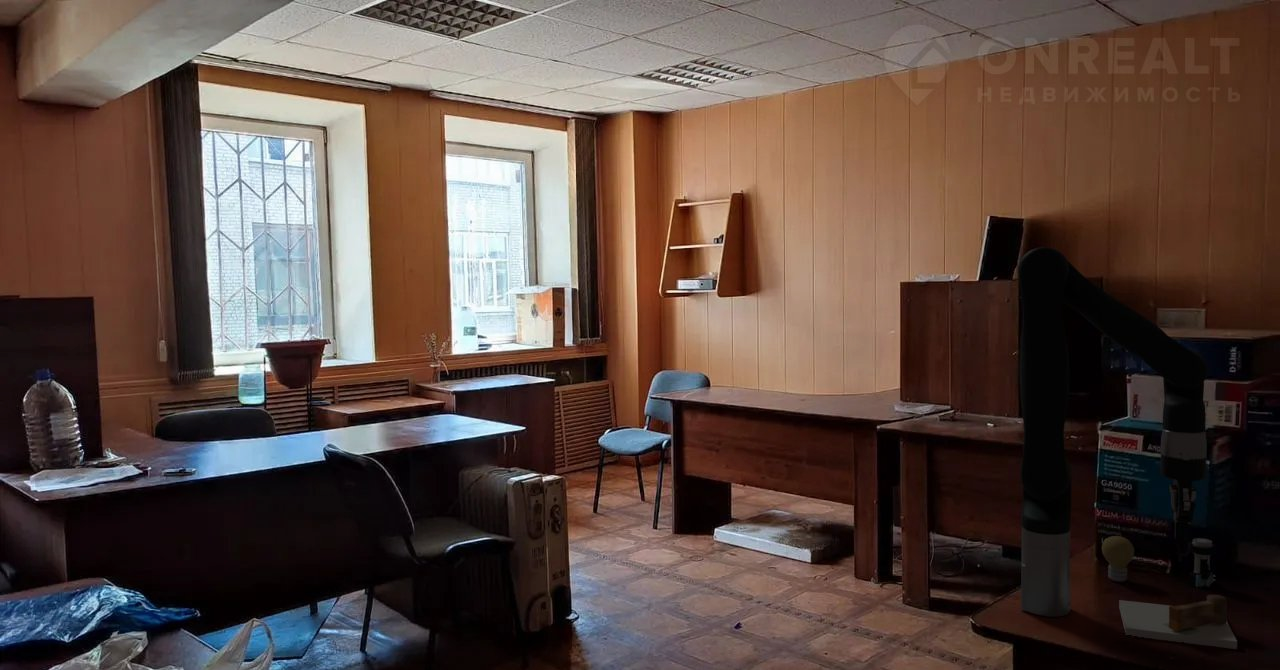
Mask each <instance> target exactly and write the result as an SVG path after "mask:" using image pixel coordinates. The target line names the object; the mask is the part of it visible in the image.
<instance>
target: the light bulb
mask: <svg viewBox="0 0 1280 670" xmlns="http://www.w3.org/2000/svg"><path fill="white" fill-rule="evenodd" d="M1101 551H1102V552H1101V553H1102V555H1103V557H1104V559H1105V560H1106V561H1107V562H1108V563H1109V565H1108V571H1107V572H1108V574H1107V575H1108V576H1107V577H1108V578H1109V579H1110V580H1111V581H1113V582H1118V583H1122V582H1126V581H1127V579H1128V576H1127V575H1128V567H1127V566H1128V564H1130V562H1132V560H1133V558H1134V557H1135V556H1134V555H1135V548H1134V545H1133V543H1132V542H1131V541H1130V540H1129V539H1128V538H1125V537H1123V536H1119V535H1111V536H1109V537H1107V538H1105V539H1104V540H1103V542H1102V544H1101Z"/></svg>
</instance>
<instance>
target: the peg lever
mask: <svg viewBox="0 0 1280 670" xmlns="http://www.w3.org/2000/svg"><path fill="white" fill-rule="evenodd" d="M1227 601H1228V600H1227V598H1226V597H1225V596H1223V595H1219V594H1207V595H1206V600H1202V601H1198V602H1192V603H1188V604H1180V605H1169V628H1170V629H1173V630H1175V631H1182V629H1187V628H1192V627H1198V626H1203V625H1208V624H1213V623H1215V624H1225V623H1226V621H1227V609H1228V608H1227V607H1228V604H1227V603H1228V602H1227Z"/></svg>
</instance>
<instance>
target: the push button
mask: <svg viewBox="0 0 1280 670" xmlns="http://www.w3.org/2000/svg"><path fill="white" fill-rule="evenodd" d="M1187 546H1188V547H1189V548H1188V550H1189V552H1191V553H1192V554H1194V567H1193V571H1192V572H1189V573H1188V584H1189V585H1191V586H1192V585H1193V587H1195V586H1196V588H1198V586H1199V587H1200V588H1202V587H1201V586H1204V587H1207V586H1208V587H1211V585H1210V584H1212V583H1213V584H1214V582H1215V581H1216V579H1214V578H1215V577H1216V575H1215V574H1214V573H1213V572H1211V569H1210V566H1211V565H1210V564H1211V563H1210V562H1211V560H1210V559H1211V556H1214V555H1215V554H1216V551H1217V548H1218V546H1217V545H1215V544H1214V543H1213V541H1212V540H1210V539H1207V538H1204V537H1203V538H1201V537H1197V538H1192V541H1188V542H1187ZM1213 584H1212V585H1213ZM1205 585H1206V586H1205Z"/></svg>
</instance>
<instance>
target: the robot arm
mask: <svg viewBox="0 0 1280 670" xmlns="http://www.w3.org/2000/svg"><path fill="white" fill-rule="evenodd" d="M1017 277H1018V283H1019V289H1020V297H1021V298H1020V299H1021V307H1022V327H1021V335H1020V345H1019V347H1020V348H1019V390H1020V393H1019V394H1020V406H1021V414H1022V421H1023V422H1022V423H1023V446H1022V459H1021V467H1020V471H1019V479H1020V482H1021V485H1022V508H1021V514H1020V516H1021V520H1020V521H1021V523H1020V525H1021V560H1020V561H1021V563H1020V564H1021V565H1020V574H1021V575H1020V580H1021V581H1020V582H1021V583H1020V586H1021V587H1020V589H1021V591H1020V594H1021V596H1020V599H1021V600H1020V607H1021V608H1020V610H1021V611H1023V612H1028V613H1030V614H1033V615H1037V616H1041V617H1052V618H1053V617H1054V618H1057V617H1064V616H1067V615H1068V614H1070V612H1071V517H1072V468H1071V466H1070V463H1069V461H1068V460H1067V458H1066V449H1065V437H1064V436H1065V423H1066V418H1067V411H1068V406H1069V405H1068V404H1069V397H1070V356H1069V347H1068V341H1067V336H1066V330H1065V325H1064V324H1065V323H1064V316H1063V311H1064V310H1063V309H1064V305H1067V306H1068V307H1070V308H1071V309H1073V310H1074V311H1075V312H1077V313H1078V314H1080V315H1081V316H1082V317H1083V318H1085V319H1086V320H1087V321H1088V322H1089V323H1090V324H1091V325H1093V326H1094V327H1095V328H1096V329H1097V330H1098V331H1100V333H1102V334H1103V335H1104V336H1106V337H1107V338H1108V339H1110V341H1113V342H1114V343H1115V344H1117V345H1118V346H1119V347H1121V348H1122V349H1124V350H1125V351H1127V352H1128V353H1129V354H1130V355H1132V356H1134V357H1136V358H1138V359H1139V360H1141V361H1143V363H1144V364H1146V365H1147V366H1148V367H1150V368H1151V369H1152V371H1154V372H1156V373H1157V374H1158V375H1159V376H1160V377H1162V378H1163V379H1162V380H1163V383H1162V384H1163V393H1164V396H1163V397H1164V399H1163V400H1164V402H1163V409H1162V430H1161V438H1160V466H1159V467H1160V469H1159V471H1160V472H1159V473H1160V475H1161V476H1163V478H1166V479H1169V480H1173V484H1169V493H1170V506H1171V508H1172V510H1171V512H1172V515H1173V517H1172V518H1173V520H1174V539H1175V541H1176V542H1181V543H1189V542H1190V525H1191V524H1192V522H1193V518H1194V513H1195V512H1194V511H1195V507H1196V503H1195V499H1196V497H1197V489H1196V488H1195V487H1194V485H1193V482H1195V481H1196V482H1200V481H1203V480H1205V479H1206V477H1207V455H1208V454H1207V449H1208V448H1207V444H1208V442H1207V437H1206V436H1207V435H1206V420H1207V419H1206V418H1207V417H1206V406H1205V403H1204V395H1205V394H1204V393H1205V392H1204V391H1205V381H1206V378H1207V376H1208V374H1209V367H1208V364H1207V362H1206V361H1205V359H1204V358H1203V357H1202V355H1200V354H1199V353H1198V352H1197V351H1195V350H1193V349H1191V348H1190V349H1189V348H1188V347H1186V346H1184V345H1183V344H1181V342H1178V340H1175V339H1173V337H1170V336H1169V335H1168V334H1167V333H1166V332H1165V331H1164V330H1163V329H1161V327H1159V326H1158V325H1157V324H1155V323H1154V322H1152V321H1150V320H1149V319H1148V318H1146V317H1145V316H1143V315H1142V314H1141V313H1139V312H1138V311H1136V310H1135V309H1133V308H1131V307H1130V306H1128V305H1126V304H1125V303H1123V302H1122V301H1120V300H1119V299H1117V298H1115V297H1113V296H1112V295H1111V294H1109V293H1107V292H1106V291H1105V290H1102V289H1101V288H1100V287H1098V285H1096V284H1094V283H1093V282H1092V281H1090V280H1089V279H1088V278H1086V276H1084V275H1083V274H1082V273H1081V272H1080V271H1079V270H1078V269H1077V268H1076V267H1075V266H1074V265H1072V263H1071V262H1070V261H1068V259H1067V257H1066V256H1065V255H1064V254H1063V252H1061V251H1060V250H1058V249H1056V248H1054V247H1048V246H1041V247H1036V248H1032V249H1031V250H1028V252H1026V253H1025V254H1024V255H1023V256H1022V257H1021V259H1020V261H1019V262H1018V266H1017Z"/></svg>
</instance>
